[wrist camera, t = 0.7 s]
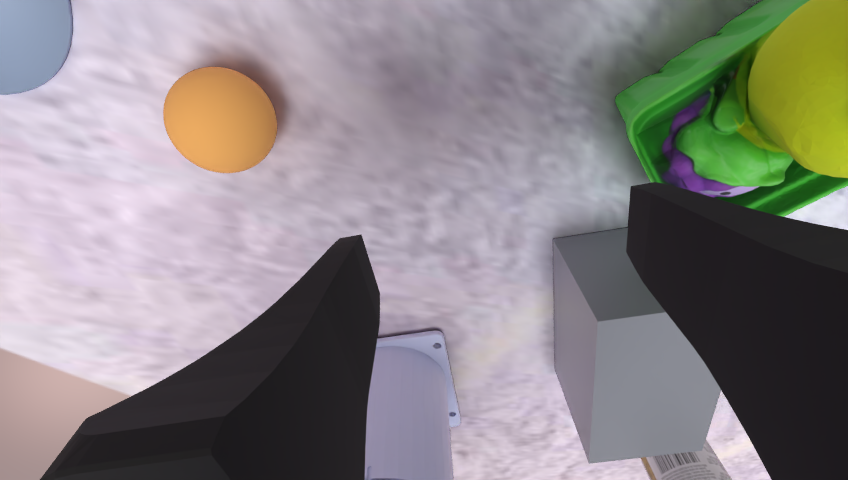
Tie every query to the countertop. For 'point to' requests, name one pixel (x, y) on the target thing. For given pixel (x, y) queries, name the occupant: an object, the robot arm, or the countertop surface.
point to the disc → (32, 42)
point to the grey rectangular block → (624, 356)
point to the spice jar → (686, 466)
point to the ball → (220, 119)
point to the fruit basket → (751, 109)
